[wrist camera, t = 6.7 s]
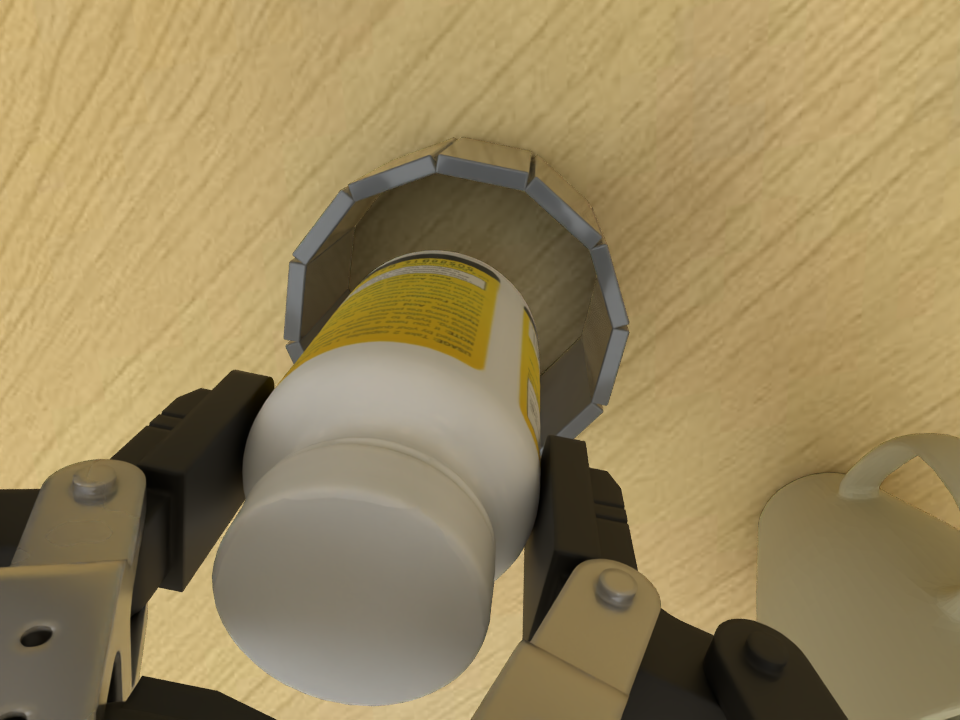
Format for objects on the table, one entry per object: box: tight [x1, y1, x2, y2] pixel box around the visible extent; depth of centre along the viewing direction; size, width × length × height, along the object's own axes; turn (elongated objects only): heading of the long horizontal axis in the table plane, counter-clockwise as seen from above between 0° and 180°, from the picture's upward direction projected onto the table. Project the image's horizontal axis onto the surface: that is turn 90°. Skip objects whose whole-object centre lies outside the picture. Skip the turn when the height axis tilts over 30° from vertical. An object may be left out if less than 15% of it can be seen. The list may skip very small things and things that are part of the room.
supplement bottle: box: [212, 250, 541, 706], centre depth 14 cm, size 5×5×10 cm
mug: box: [756, 433, 960, 720], centre depth 21 cm, size 11×10×12 cm
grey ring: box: [284, 137, 629, 459], centre depth 22 cm, size 10×10×6 cm
